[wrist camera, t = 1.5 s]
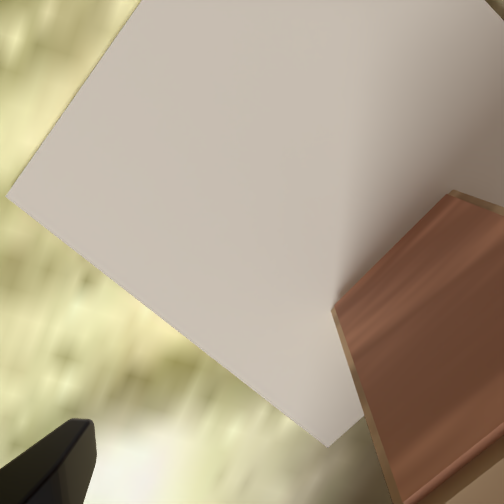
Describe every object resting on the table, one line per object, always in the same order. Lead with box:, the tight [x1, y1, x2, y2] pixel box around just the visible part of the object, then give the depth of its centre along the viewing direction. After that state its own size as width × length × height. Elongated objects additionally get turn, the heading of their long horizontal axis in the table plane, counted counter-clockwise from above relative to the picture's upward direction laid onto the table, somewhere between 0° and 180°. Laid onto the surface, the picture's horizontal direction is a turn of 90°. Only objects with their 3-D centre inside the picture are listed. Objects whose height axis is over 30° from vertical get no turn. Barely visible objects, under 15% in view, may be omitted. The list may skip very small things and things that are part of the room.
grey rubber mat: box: [5, 0, 504, 448], centre depth 20 cm, size 21×20×1 cm
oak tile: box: [331, 189, 504, 504], centre depth 15 cm, size 3×8×12 cm, turn 139°
